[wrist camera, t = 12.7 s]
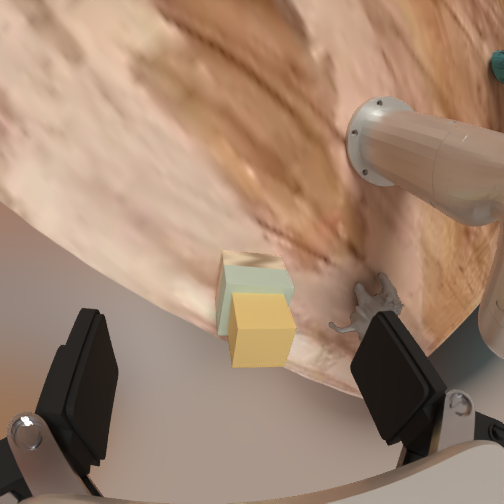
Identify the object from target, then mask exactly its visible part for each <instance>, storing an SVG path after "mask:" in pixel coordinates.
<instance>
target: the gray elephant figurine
mask: <svg viewBox="0 0 504 504" xmlns="http://www.w3.org/2000/svg"><path fill="white" fill-rule="evenodd" d="M378 280H379V282H380V283H381V285H382V291H381V292H380V294H376V295H375V296H374V297H372V296H370V295H369V294H368V293H367V292H366V290H365V287H364V285H363V284H362V283H357V284H356V285H355V287H354V293H355V294H356V295H357V299H358V303H359V306H356V311H354V312H352V313H351V315H350V319H351V321H352V322H351V324H350V325H348V326H347V327H345V328H339V327H337V326H336V325H335V324H334V323H333V322H329V326H330V328H333V329H334V330H335V331H337V332H339V333H346V332H350V331H356V332H358V334H359V340H360V341H361V342H362V340H363V337H364V335H365V333H366V331H367V329H368V326H369V324H370V322H371V319H372V318H373V316H375V315H376V313H377V312H379V311H390V310H391V311H394V312H395V314H396V315H400V312H401V309H402V307H403V306H404V305H403V304H401V301H400V299H399V297H398V295H397V291H396V289H395V288H394V286H393V285H392V284H391V282H390V280H389V279H388V277H387V275H386V274H385V273H382V272H381V273H379V274H378Z"/></svg>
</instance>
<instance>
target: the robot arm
mask: <svg viewBox="0 0 504 504" xmlns="http://www.w3.org/2000/svg"><path fill="white" fill-rule="evenodd" d="M377 101H378V105H377ZM352 131H354V133H353V134H352ZM345 143H346V152H347V155H348V159H349V161H350V163H351V165H352V167H353V169H354V170H355V171H356V173H357V174H358V175H359V176H360V177H362V178H363V179H364V180H366V181H367V182H369V183H371V184H373V185H376V186H381V187H390V186H394V185H397V186H399V187H401V188H403V189H404V190H406V191H408V192H409V193H411V194H413V195H415V196H416V197H418V198H419V199H421V200H423V201H424V202H426V203H428V204H429V205H431V206H432V207H434V208H436V209H437V210H439V211H440V212H442V213H443V214H445V215H446V216H448V217H450V218H451V219H453V220H454V221H456V222H458V223H460V224H463V225H466V226H472V227H475V226H483V225H487V224H490V223H492V222H495V221H497V220H499V222H500V232H499V237H498V242H497V249H496V253H495V257H494V261H493V264H492V268H491V271H490V274H489V278H488V281H487V284H486V287H485V291H484V294H483V297H482V300H481V304H480V308H479V316H478V323H479V329H480V333H481V336H482V338H483V340H484V342H485V343H486V345H487V346H488V347H489V348H490V349H491V350H492V351H493V352H494V353H495V354H496V355H498V356H499V357H501V358H502V359H504V133H501V132H497V131H493V130H490V129H486V128H482V127H479V126H475V125H471V124H467V123H464V122H460V121H455V120H451V119H447V118H443V117H438V116H433V115H428V114H423V113H418V112H415V111H414V110H413V109H412V108H411V107H410V106H409V105H408V104H407V103H405V102H404V101H402V100H400V99H398V98H394V97H389V96H379V97H374V98H371V99H369V100H367V101H366V102H364V103H362V104H361V105H360V106H359V107H358V108H357V109H356V111H355V112H354V114H353V115H352V117H351V119H350V121H349V124H348V127H347V131H346V141H345ZM363 170H364V172H363ZM362 172H363V173H362ZM350 369H351V373H352V375H353V377H354V379H355V381H356V383H357V385H358V388H359V390H360V392H361V394H362V396H363V398H364V400H365V403H366V405H367V407H368V409H369V411H370V414H371V416H372V418H373V420H374V422H375V425H376V426H377V429H378V431H379V433H380V436H381V437H382V439H383V440H386V443H387V445H388V446H389V445H392V444H395V443H398V442H400V441H402V443H403V447H402V450H401V453H400V457H399V460H398V463H397V466H396V469H394V470H391V471H388V472H386V473H383V474H380V475H377V476H374V477H371V478H367V479H364V480H361V481H357V482H354V483H350V484H347V485H343V486H339V487H335V488H331V489H327V490H323V491H318V492H313V493H309V494H304V495H298V496H292V497H286V498H280V499H272V500H264V501H254V502H243V503H230V504H504V424H503V423H502V422H500V421H498V420H496V419H493V418H491V417H488V416H486V415H483V414H481V413H479V412H476V411H475V405H474V402H473V400H472V399H471V397H470V396H469V395H468V394H467V393H465V392H463V391H461V390H452V391H450V392H448V394H447V395H446V394H445V393H444V392H445V390H446V389H447V387H446V385H445V384H444V382H443V380H442V379H441V378H440V376H439V374H438V373H437V371H436V370H435V368H434V367H433V366H432V364H431V363H430V361H429V360H428V358H427V357H426V355H425V354H424V352H423V351H422V350H421V348H420V347H419V345H418V344H417V342H416V341H415V340H414V338H413V337H412V335H411V334H410V333H409V331H408V330H407V329H406V327H405V326H404V324H403V323H402V322H401V320H400V319H399V318H398V316H397V315H396V314H395V312H394V311H391V310H390V311H379V312H377V313H376V315H375V316H373V318H372V319H371V322H370V324H369V326H368V329H367V331H366V333H365V335H364V337H363V340H362V342H361V344H360V346H359V348H358V350H357V352H356V354H355V356H354V358H353V360H352V363H351V366H350ZM117 380H118V366H117V363H116V359H115V356H114V352H113V348H112V344H111V340H110V336H109V332H108V328H107V323H106V319H105V316H104V315H103V314H100V312H99V310H97V309H86V308H82V309H81V310H80V312H79V314H78V316H77V319H76V321H75V323H74V326H73V328H72V331H71V333H70V335H69V337H68V340H67V343H66V345H61V346H60V347H59V348H58V350H57V352H56V355H55V357H54V360H53V362H52V365H51V368H50V370H49V373H48V375H47V378H46V381H45V384H44V387H43V389H42V392H41V395H40V398H39V402H38V404H37V407H36V411H35V413H32V412H23V413H19V414H18V415H16V416H15V417H13V418H12V420H11V421H10V422H9V424H8V427H7V437H6V438H4V439H2V440H0V504H167V503H150V502H140V501H130V500H122V499H114V498H106V497H104V496H103V495H102V493H101V492H100V491H99V490H98V488H97V487H96V485H95V484H94V483H93V481H92V480H91V478H90V477H89V475H88V474H89V473H90V465H94V466H100V459H101V460H104V459H105V457H106V449H107V441H108V434H109V427H110V420H111V414H112V408H113V402H114V396H115V391H116V386H117Z"/></svg>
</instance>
